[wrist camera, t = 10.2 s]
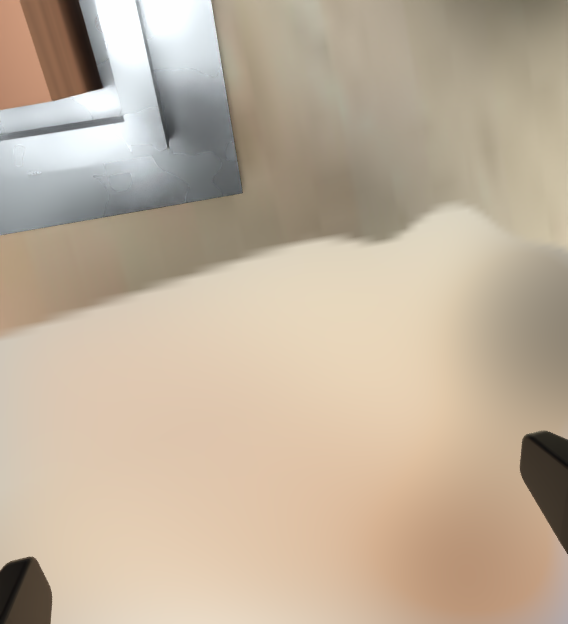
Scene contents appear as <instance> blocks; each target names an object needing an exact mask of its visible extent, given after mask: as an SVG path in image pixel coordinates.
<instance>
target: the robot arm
mask: <svg viewBox="0 0 568 624" xmlns="http://www.w3.org/2000/svg"><path fill="white" fill-rule="evenodd" d="M520 472H521V475H522V478H523V480H524V482H525V484H526V485H527V487H528V489H529V491H530V492H531V494H532V496H533V497H534V499H535V501H536V502H537V504H538V506H539V507H540V509H541V511H542V513H543V514H544V516H545V518H546V519H547V521H548V523H549V524H550V526H551V528H552V529H553V531H554V533H555V535H556V536H557V538H558V540H559V541H560V543H561V544H562V546H563V548H564V549H565V551H566V552H567V554H568V440H567V439H565V438H563V437H560V436H558V435H556V434H553V433H551V432H548V431H539V432H535V433H531V434H527V435H525V436H524V438H523V440H522V449H521V460H520ZM51 610H52V592H51V589H50V586H49V583H48V581H47V580H46V577H45V575H44V573H43V571H42V570H41V567H40V566H39V563H38V561H37V560H36V559H35V558H34V557H27V558H22V559H18V560H14V561H11V562H9V563H7V564H6V565H5V566H4V567H3V568H2V569H1V570H0V624H50V623H51Z"/></svg>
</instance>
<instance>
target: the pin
mask: <svg viewBox="0 0 568 624" xmlns="http://www.w3.org/2000/svg"><path fill="white" fill-rule="evenodd" d="M99 89H103V86H102V82H101V79H100V75H99V72H98V68H97V64H96V61H95V57H94V54H93V50H92V47H91V43H90V39H89V36H88V32H87V29H86V25H85V21H84V18H83V14H82V11H81V7H80V4H79V0H0V110H4V109H10V108H16V107H22V106H28V105H33V104H39V103H45V102H51V101H56V100H60V99H64V98H68V97H72V96H76V95H79V94H83V93H87V92H91V91H95V90H99Z"/></svg>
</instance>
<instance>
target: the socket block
mask: <svg viewBox="0 0 568 624" xmlns="http://www.w3.org/2000/svg"><path fill="white" fill-rule="evenodd" d="M79 4H80V7H81V11H82V14H83V18H84V21H85V25H86V29H87V32H88V36H89V39H90V43H91V47H92V50H93V54H94V57H95V61H96V64H97V68H98V72H99V75H100V79H101V82H102V86H103V89H99V90H95V91H91V92H87V93H83V94H79V95H76V96H72V97H68V98H64V99H60V100H56V101H51V102H45V103H39V104H33V105H28V106H22V107H16V108H10V109H4V110H0V235H4V234H10V233H16V232H22V231H27V230H33V229H39V228H45V227H50V226H56V225H62V224H68V223H73V222H79V221H85V220H91V219H97V218H102V217H108V216H114V215H120V214H125V213H131V212H137V211H143V210H148V209H154V208H160V207H166V206H171V205H177V204H183V203H189V202H194V201H200V200H206V199H212V198H217V197H223V196H229V195H235V194H240V193H243V192H242V186H241V180H240V174H239V168H238V162H237V155H236V149H235V143H234V137H233V131H232V125H231V119H230V113H229V107H228V101H227V95H226V89H225V82H224V76H223V70H222V64H221V58H220V52H219V46H218V40H217V34H216V28H215V22H214V15H213V9H212V3H211V0H79Z"/></svg>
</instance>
